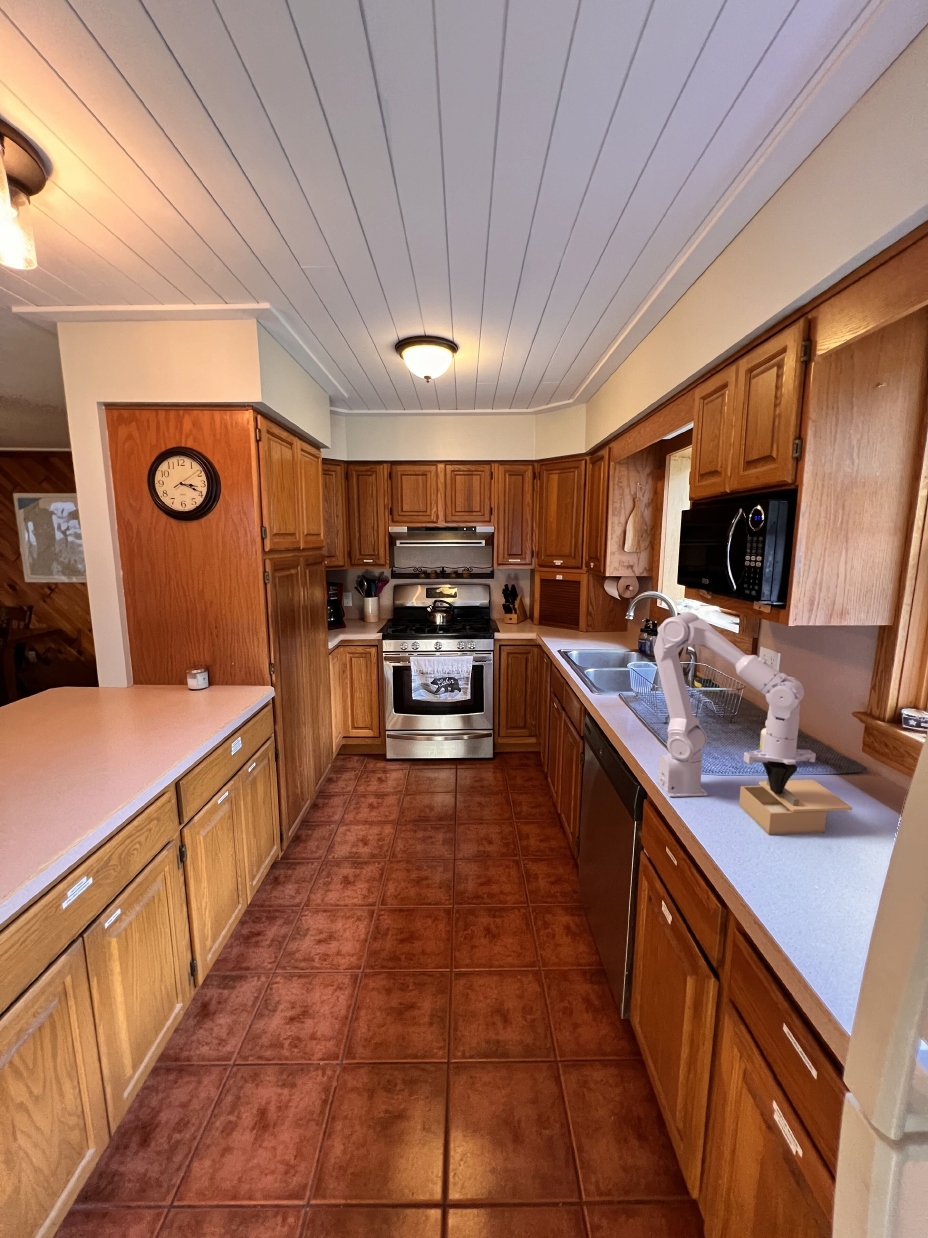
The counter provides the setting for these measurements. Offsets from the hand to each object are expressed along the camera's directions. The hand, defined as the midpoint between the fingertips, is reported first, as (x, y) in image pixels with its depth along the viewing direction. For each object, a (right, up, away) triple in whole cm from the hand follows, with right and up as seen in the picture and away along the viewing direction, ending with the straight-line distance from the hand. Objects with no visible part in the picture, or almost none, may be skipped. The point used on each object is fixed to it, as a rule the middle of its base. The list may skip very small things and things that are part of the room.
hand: (775, 792), depth 109 cm
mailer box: (+2, -6, +1) cm, 7 cm away
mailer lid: (+6, -1, 0) cm, 6 cm away
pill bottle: (+16, -1, +27) cm, 32 cm away
